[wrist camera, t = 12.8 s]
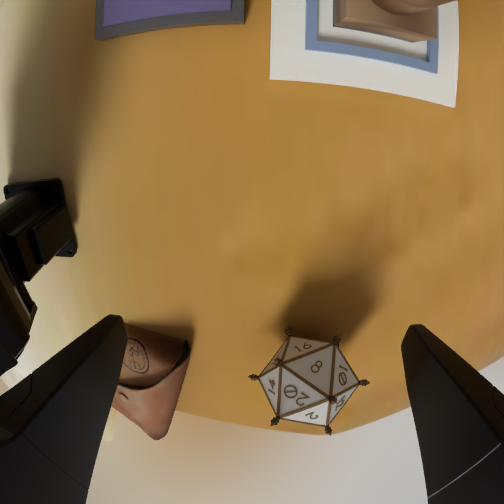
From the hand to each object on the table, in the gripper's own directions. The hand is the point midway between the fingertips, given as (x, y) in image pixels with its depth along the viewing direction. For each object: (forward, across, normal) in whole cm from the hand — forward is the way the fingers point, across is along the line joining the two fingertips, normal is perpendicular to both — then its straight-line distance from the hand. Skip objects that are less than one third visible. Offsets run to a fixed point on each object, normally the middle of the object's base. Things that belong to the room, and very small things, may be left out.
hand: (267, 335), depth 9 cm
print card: (+12, -6, -13) cm, 19 cm away
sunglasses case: (+13, +12, +22) cm, 28 cm away
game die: (+13, -4, +14) cm, 19 cm away
